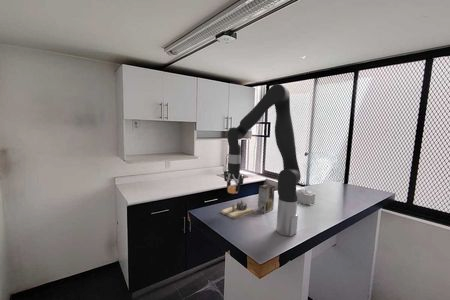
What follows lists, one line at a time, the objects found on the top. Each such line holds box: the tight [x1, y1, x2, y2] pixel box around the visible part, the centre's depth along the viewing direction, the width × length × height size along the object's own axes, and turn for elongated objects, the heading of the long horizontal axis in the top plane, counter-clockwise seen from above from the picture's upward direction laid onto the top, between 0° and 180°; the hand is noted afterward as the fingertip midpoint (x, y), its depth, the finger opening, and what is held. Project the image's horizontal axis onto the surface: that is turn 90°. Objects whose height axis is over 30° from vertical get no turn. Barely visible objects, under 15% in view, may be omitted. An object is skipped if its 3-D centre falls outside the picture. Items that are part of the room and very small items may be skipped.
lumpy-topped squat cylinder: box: [296, 188, 316, 206], centre depth 157 cm, size 10×13×9 cm
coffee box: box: [257, 183, 275, 214], centre depth 137 cm, size 9×6×16 cm
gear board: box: [220, 199, 255, 220], centre depth 132 cm, size 12×17×7 cm
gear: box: [227, 185, 238, 194], centre depth 125 cm, size 6×6×3 cm
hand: (232, 190), depth 125 cm, fingers closed on gear, 6 cm apart
